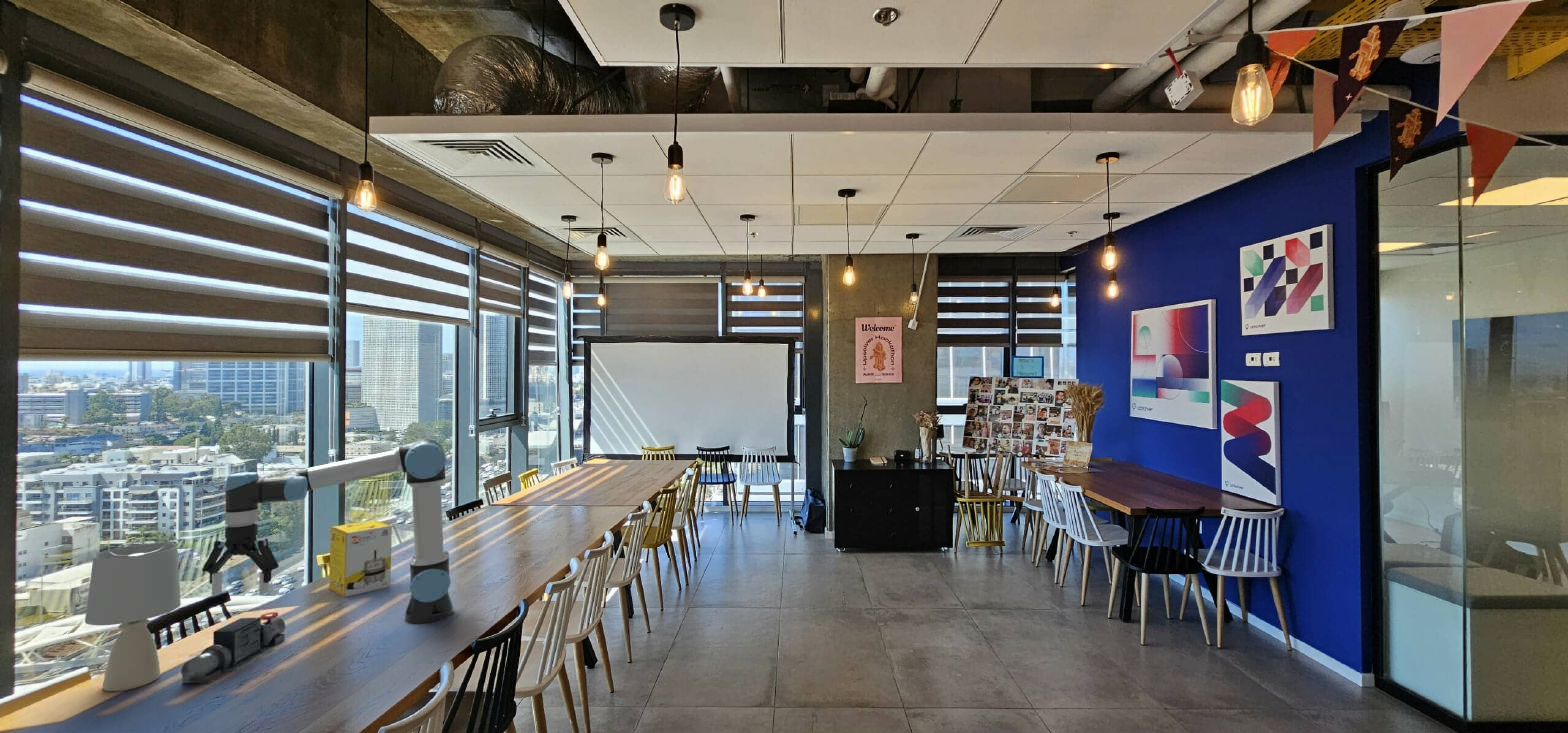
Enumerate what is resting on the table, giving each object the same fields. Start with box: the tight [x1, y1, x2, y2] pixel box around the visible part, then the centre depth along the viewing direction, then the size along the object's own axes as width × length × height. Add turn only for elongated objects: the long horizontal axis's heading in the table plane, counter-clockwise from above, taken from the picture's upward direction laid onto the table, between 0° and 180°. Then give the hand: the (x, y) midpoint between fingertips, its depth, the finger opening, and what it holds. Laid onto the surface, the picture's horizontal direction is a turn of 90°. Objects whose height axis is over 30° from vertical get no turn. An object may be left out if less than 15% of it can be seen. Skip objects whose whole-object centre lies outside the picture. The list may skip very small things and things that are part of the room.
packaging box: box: [328, 519, 393, 598], centre depth 254 cm, size 16×16×25 cm
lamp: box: [84, 542, 182, 693], centre depth 174 cm, size 19×19×37 cm
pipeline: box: [180, 611, 286, 684], centre depth 188 cm, size 31×11×9 cm, turn 4°
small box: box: [212, 616, 262, 666], centre depth 188 cm, size 11×6×10 cm, turn 4°
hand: (240, 593), depth 189 cm, fingers open, 13 cm apart
